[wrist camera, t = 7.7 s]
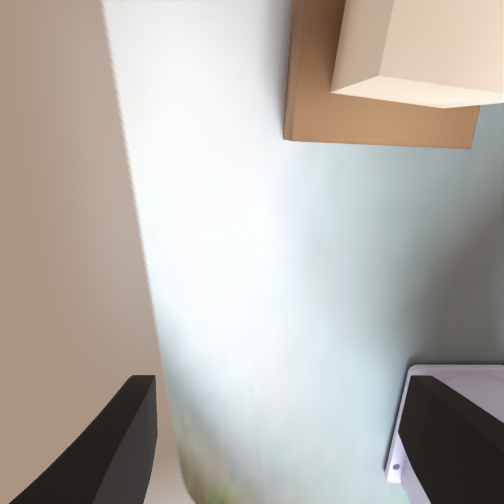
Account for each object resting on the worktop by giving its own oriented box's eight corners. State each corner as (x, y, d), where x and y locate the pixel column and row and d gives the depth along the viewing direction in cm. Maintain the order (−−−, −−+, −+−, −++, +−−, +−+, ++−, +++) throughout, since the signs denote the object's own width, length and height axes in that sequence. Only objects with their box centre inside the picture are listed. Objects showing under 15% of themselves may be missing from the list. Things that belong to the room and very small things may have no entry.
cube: (443, 108, 15) (539, 99, 11) (330, 92, 15) (378, 75, 10) (480, -31, 14) (611, -113, 9) (355, -54, 13) (425, -154, 9)
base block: (433, 146, 19) (470, 149, 16) (282, 139, 18) (292, 141, 15) (469, -38, 16) (520, -73, 14) (295, -54, 16) (310, -94, 13)
